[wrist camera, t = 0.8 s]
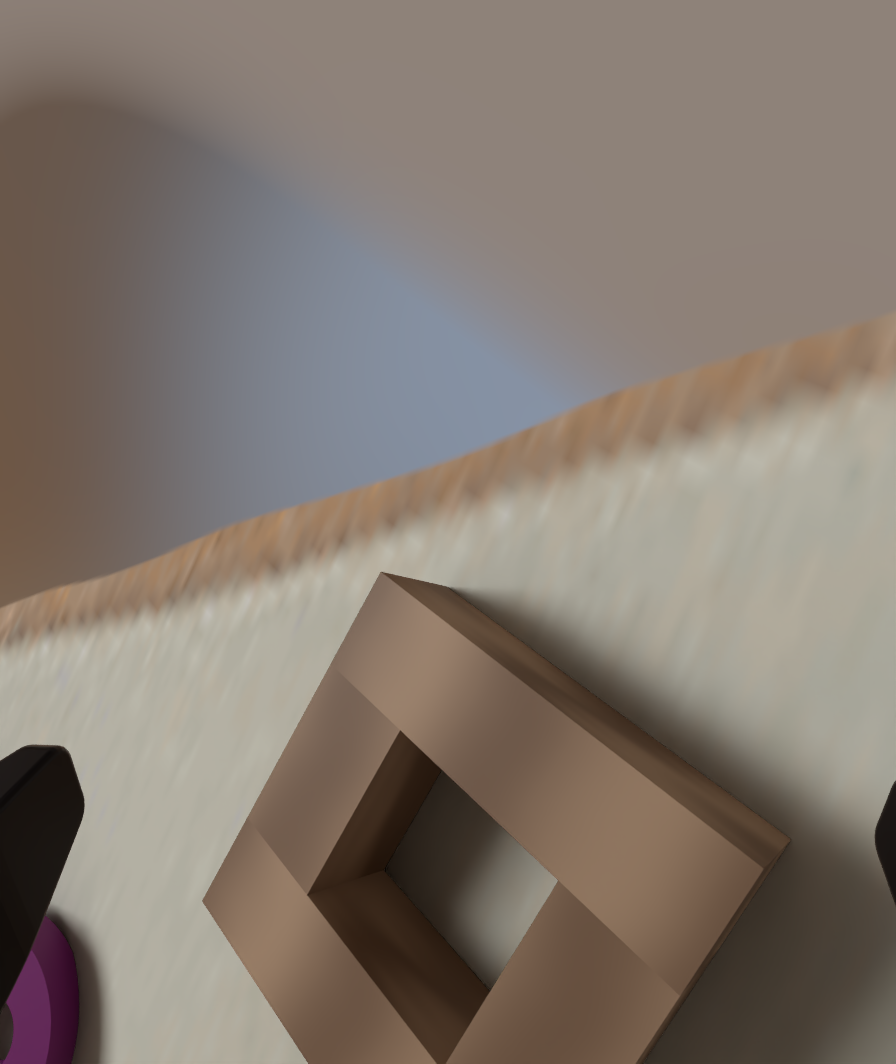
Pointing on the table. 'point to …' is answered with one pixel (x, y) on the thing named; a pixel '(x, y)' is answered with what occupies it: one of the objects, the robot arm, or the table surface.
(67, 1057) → the mounting bracket
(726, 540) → the table surface
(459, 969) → the socket block
